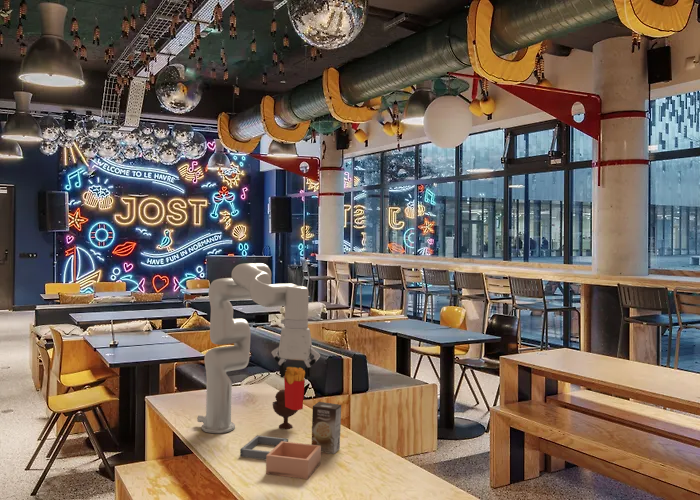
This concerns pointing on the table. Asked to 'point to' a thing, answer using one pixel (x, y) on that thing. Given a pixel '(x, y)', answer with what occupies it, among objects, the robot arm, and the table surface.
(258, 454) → the gray rectangular frame
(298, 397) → the french fries
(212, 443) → the table surface
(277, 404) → the ice cream bowl
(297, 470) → the pink open box
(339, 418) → the coffee box
